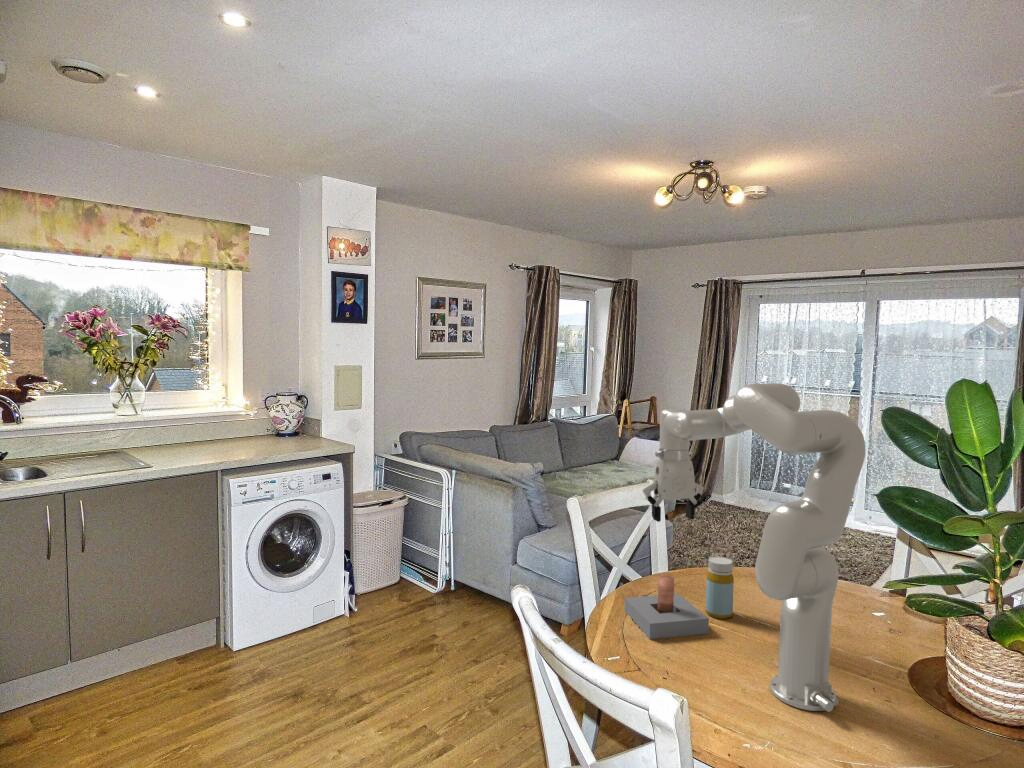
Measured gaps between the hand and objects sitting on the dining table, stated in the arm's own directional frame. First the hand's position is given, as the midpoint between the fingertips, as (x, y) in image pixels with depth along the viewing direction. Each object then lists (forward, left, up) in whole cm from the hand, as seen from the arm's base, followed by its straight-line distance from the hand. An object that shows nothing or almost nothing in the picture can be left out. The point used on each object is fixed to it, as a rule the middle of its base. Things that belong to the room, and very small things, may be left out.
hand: (673, 519), depth 164 cm
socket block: (-2, +3, -27) cm, 27 cm away
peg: (-2, +3, -27) cm, 27 cm away
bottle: (0, -14, -27) cm, 31 cm away
